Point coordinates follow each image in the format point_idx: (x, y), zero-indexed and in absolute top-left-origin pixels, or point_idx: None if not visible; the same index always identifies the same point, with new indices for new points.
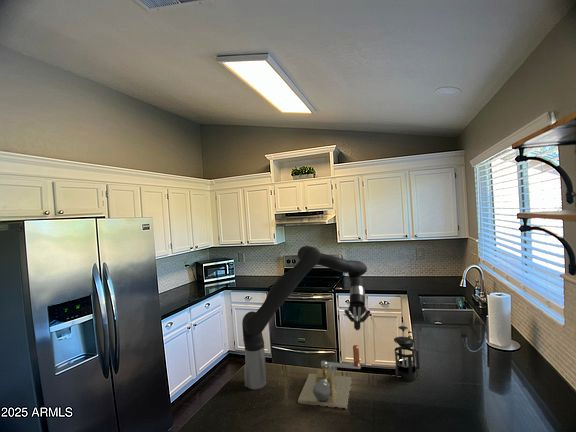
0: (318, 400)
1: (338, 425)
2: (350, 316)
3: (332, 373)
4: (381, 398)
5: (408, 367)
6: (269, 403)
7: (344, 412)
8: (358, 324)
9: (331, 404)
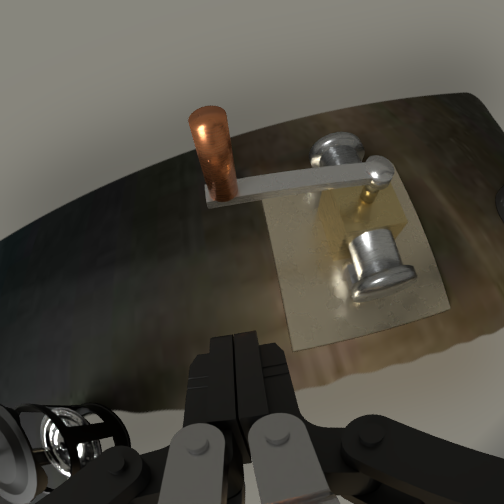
0: None
1: (259, 133)
2: (407, 457)
3: (338, 205)
4: (164, 270)
5: (57, 406)
6: (440, 154)
7: (260, 172)
8: (209, 374)
9: None
